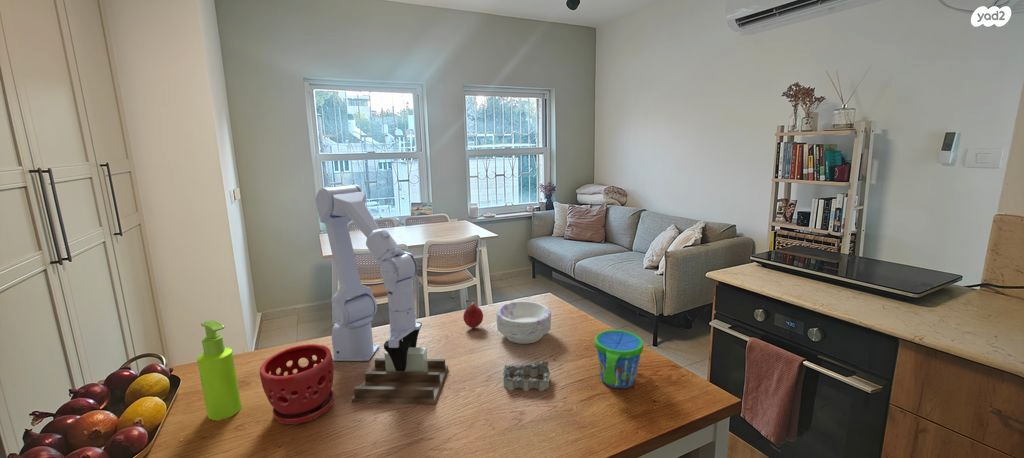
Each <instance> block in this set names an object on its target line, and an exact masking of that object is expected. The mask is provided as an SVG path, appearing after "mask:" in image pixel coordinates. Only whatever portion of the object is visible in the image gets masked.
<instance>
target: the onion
mask: <svg viewBox="0 0 1024 458" xmlns="http://www.w3.org/2000/svg"><path fill="white" fill-rule="evenodd" d="M483 320H484V313H483V311H482V309H481V308H480V307H479V306H478V305H476V303H475V302H473V301H472V302H471V304H470V306H468V307H467V308H466V309H465V311H464V312H463V322H464V324H465V325H466V326H467V327H469V328H471V329H476V328H477V327H478V326H480V325H481V324H482V322H483Z"/></svg>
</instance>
